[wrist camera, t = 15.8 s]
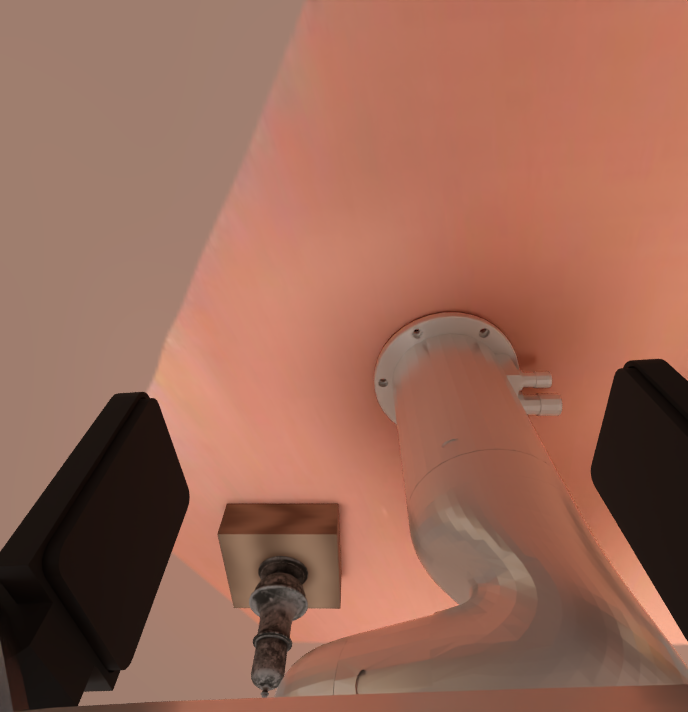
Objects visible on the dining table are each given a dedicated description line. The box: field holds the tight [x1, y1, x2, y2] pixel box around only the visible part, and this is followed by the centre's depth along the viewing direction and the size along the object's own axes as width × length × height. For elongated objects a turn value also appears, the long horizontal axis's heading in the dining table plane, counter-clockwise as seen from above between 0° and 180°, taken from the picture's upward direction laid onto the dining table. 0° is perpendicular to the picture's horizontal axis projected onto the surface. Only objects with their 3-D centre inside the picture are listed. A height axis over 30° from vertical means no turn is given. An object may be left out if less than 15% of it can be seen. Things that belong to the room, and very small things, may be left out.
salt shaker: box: [249, 556, 308, 698], centre depth 45 cm, size 6×6×12 cm
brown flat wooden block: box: [218, 504, 341, 609], centre depth 52 cm, size 12×12×4 cm
